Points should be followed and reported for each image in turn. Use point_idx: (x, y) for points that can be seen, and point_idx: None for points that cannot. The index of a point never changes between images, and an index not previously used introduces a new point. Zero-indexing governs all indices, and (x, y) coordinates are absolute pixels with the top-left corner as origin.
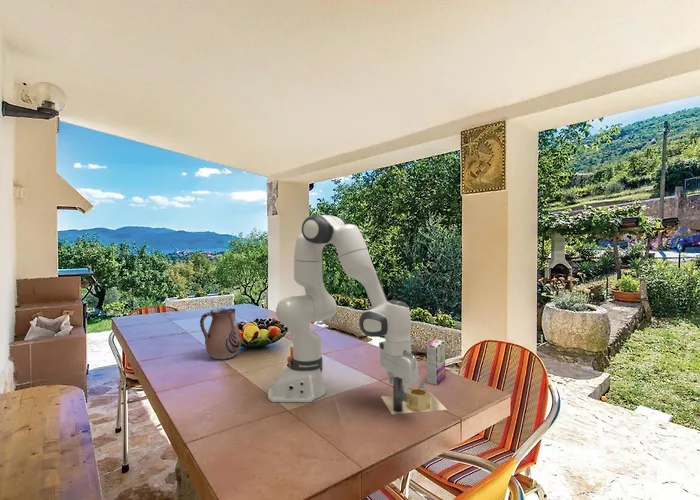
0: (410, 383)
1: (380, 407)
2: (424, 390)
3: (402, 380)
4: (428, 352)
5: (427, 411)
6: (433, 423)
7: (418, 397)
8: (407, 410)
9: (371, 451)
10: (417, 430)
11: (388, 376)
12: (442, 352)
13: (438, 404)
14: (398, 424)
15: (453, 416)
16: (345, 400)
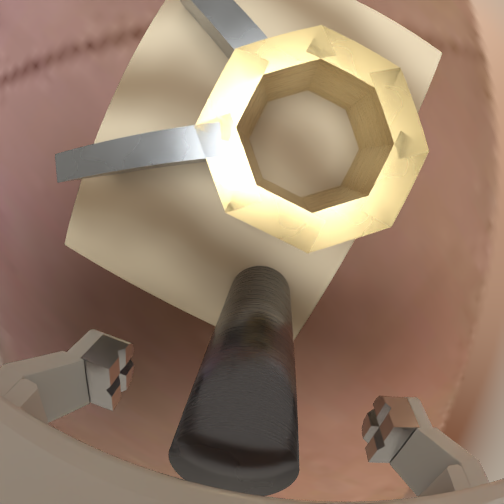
0: (470, 466)
1: (143, 300)
2: (324, 54)
3: (285, 427)
4: None
5: None
6: (455, 208)
7: (391, 219)
8: (308, 254)
9: (381, 480)
10: (437, 322)
11: (69, 405)
12: None
13: (365, 25)
14: (345, 354)
15: (461, 64)
16: (37, 356)
